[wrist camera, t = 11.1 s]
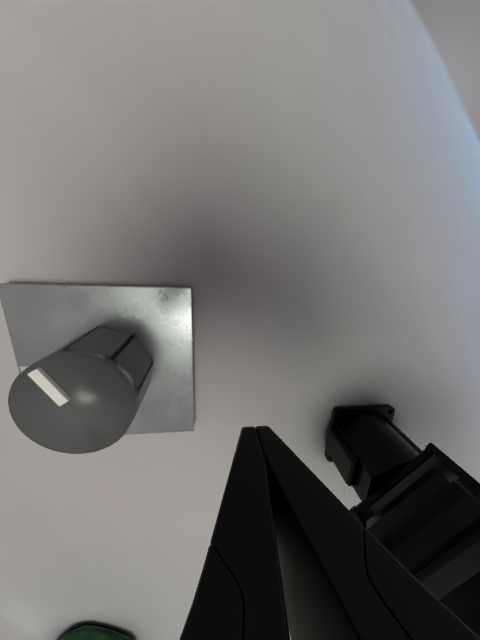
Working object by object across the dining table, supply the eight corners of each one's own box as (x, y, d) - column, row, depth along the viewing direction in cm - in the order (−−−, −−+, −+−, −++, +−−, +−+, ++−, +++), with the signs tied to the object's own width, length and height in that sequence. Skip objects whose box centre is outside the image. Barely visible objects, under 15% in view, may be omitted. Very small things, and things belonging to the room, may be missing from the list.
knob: (169, 378, 19) (154, 423, 14) (101, 416, 19) (62, 474, 14) (119, 312, 17) (81, 337, 12) (43, 354, 17) (-26, 396, 12)
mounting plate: (192, 286, 18) (184, 298, 13) (194, 423, 22) (189, 469, 17) (9, 282, 16) (-72, 293, 12) (45, 430, 20) (-7, 484, 15)
